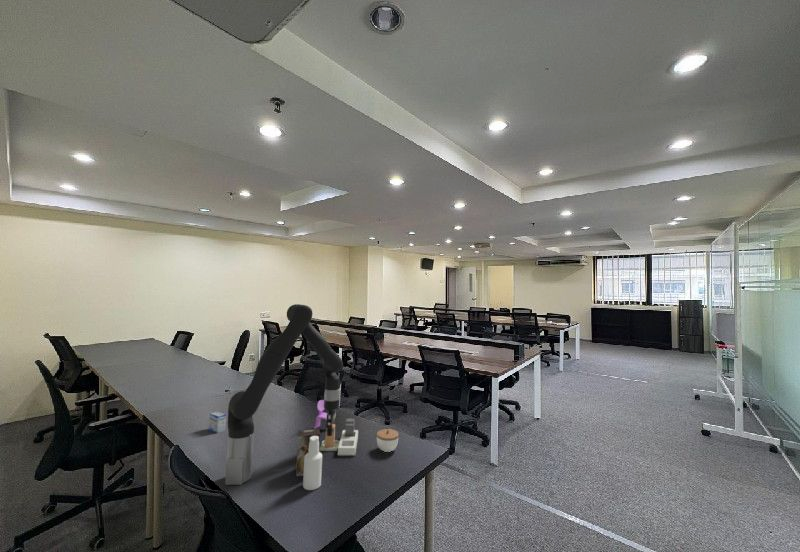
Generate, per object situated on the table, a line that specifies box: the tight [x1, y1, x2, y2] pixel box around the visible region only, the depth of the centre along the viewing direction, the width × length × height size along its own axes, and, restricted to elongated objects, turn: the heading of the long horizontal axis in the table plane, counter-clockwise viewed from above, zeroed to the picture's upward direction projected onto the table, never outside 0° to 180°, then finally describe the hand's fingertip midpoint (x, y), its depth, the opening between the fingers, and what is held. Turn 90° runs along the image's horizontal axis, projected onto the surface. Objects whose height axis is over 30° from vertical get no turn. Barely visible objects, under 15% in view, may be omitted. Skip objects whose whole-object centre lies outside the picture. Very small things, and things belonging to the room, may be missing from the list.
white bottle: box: [302, 436, 323, 491], centre depth 124 cm, size 7×7×18 cm
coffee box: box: [296, 428, 321, 477], centre depth 133 cm, size 9×6×16 cm
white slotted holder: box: [337, 418, 359, 457], centre depth 156 cm, size 20×8×11 cm, turn 4°
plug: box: [324, 423, 336, 448], centre depth 154 cm, size 4×4×10 cm
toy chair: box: [313, 399, 330, 429], centre depth 177 cm, size 8×9×15 cm
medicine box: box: [208, 411, 227, 434], centre depth 170 cm, size 8×4×9 cm, turn 62°
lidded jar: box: [376, 428, 400, 453], centre depth 154 cm, size 11×11×9 cm
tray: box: [320, 439, 340, 452], centre depth 154 cm, size 8×8×2 cm
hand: (330, 431), depth 155 cm, fingers open, 8 cm apart
